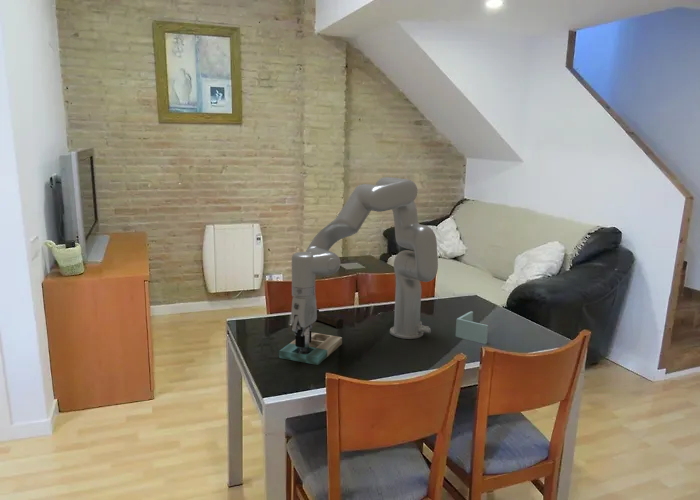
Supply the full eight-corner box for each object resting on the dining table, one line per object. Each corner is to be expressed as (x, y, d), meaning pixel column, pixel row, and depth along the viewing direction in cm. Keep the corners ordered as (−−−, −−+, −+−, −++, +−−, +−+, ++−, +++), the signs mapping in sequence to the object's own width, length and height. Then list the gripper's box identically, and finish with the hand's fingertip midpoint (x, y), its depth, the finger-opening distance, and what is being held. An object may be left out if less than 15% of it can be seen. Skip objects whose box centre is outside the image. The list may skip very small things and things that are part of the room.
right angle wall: (485, 345, 189) (487, 326, 187) (455, 338, 196) (456, 318, 194) (498, 336, 198) (500, 317, 197) (469, 329, 205) (470, 311, 204)
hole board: (341, 343, 186) (342, 337, 186) (317, 365, 168) (318, 357, 167) (306, 338, 191) (306, 331, 191) (279, 357, 173) (279, 350, 173)
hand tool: (344, 327, 204) (344, 315, 203) (336, 329, 201) (337, 318, 200) (311, 316, 217) (312, 305, 216) (304, 318, 214) (304, 307, 213)
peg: (311, 352, 175) (311, 326, 173) (306, 356, 171) (306, 330, 169) (300, 350, 176) (300, 324, 174) (295, 354, 172) (295, 328, 171)
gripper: (302, 298, 160) (302, 355, 164) (324, 285, 176) (324, 337, 179) (280, 295, 163) (280, 351, 167) (304, 283, 178) (304, 334, 182)
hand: (303, 343), depth 173 cm, fingers closed on peg, 3 cm apart
